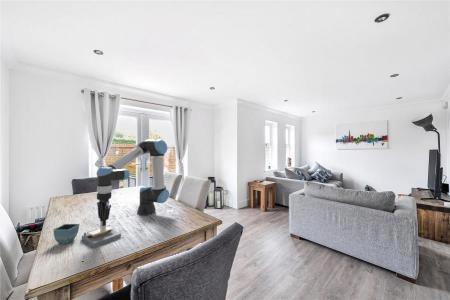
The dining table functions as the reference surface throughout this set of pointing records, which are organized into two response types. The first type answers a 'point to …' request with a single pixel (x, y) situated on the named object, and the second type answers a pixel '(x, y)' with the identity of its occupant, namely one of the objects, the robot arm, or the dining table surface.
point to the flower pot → (66, 233)
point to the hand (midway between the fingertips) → (102, 230)
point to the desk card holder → (101, 238)
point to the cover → (99, 231)
